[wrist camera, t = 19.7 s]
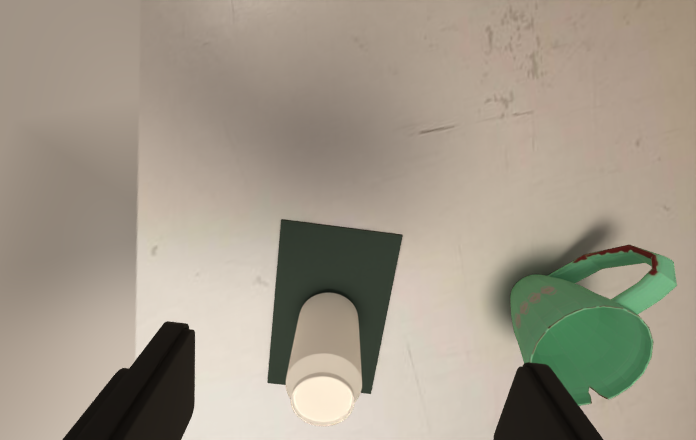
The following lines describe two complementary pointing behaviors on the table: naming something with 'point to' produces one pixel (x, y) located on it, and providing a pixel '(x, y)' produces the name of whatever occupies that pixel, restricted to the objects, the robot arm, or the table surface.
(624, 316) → the mug
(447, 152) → the table surface
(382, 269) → the mat
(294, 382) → the beverage can
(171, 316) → the table surface
